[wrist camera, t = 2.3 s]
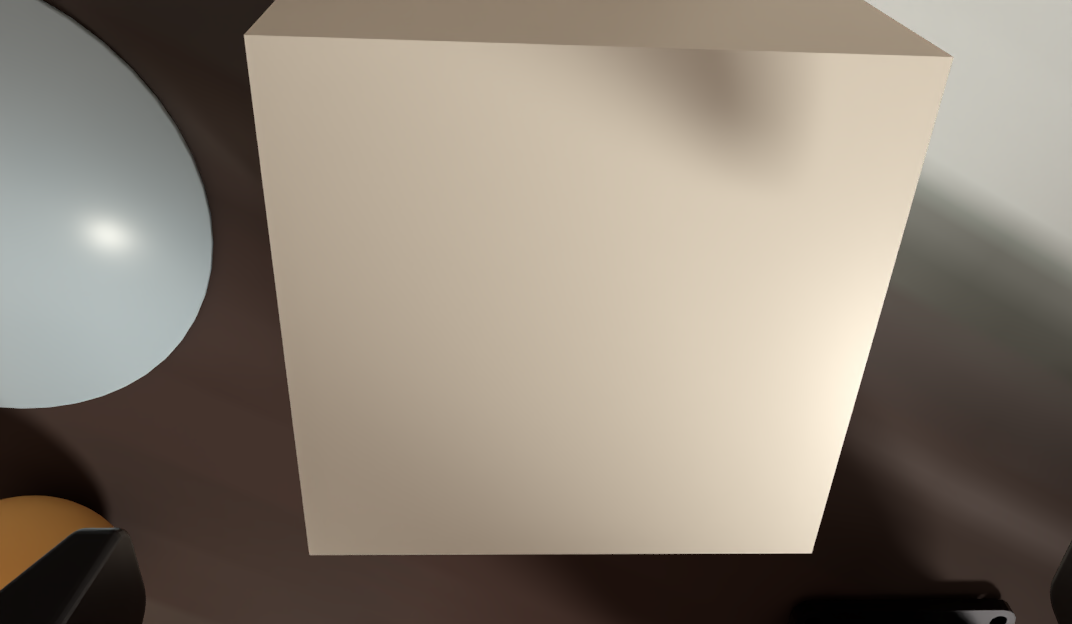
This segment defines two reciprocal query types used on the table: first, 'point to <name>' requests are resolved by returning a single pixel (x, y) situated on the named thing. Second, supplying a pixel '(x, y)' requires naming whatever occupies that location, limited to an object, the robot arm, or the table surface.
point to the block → (581, 262)
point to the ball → (37, 529)
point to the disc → (89, 216)
